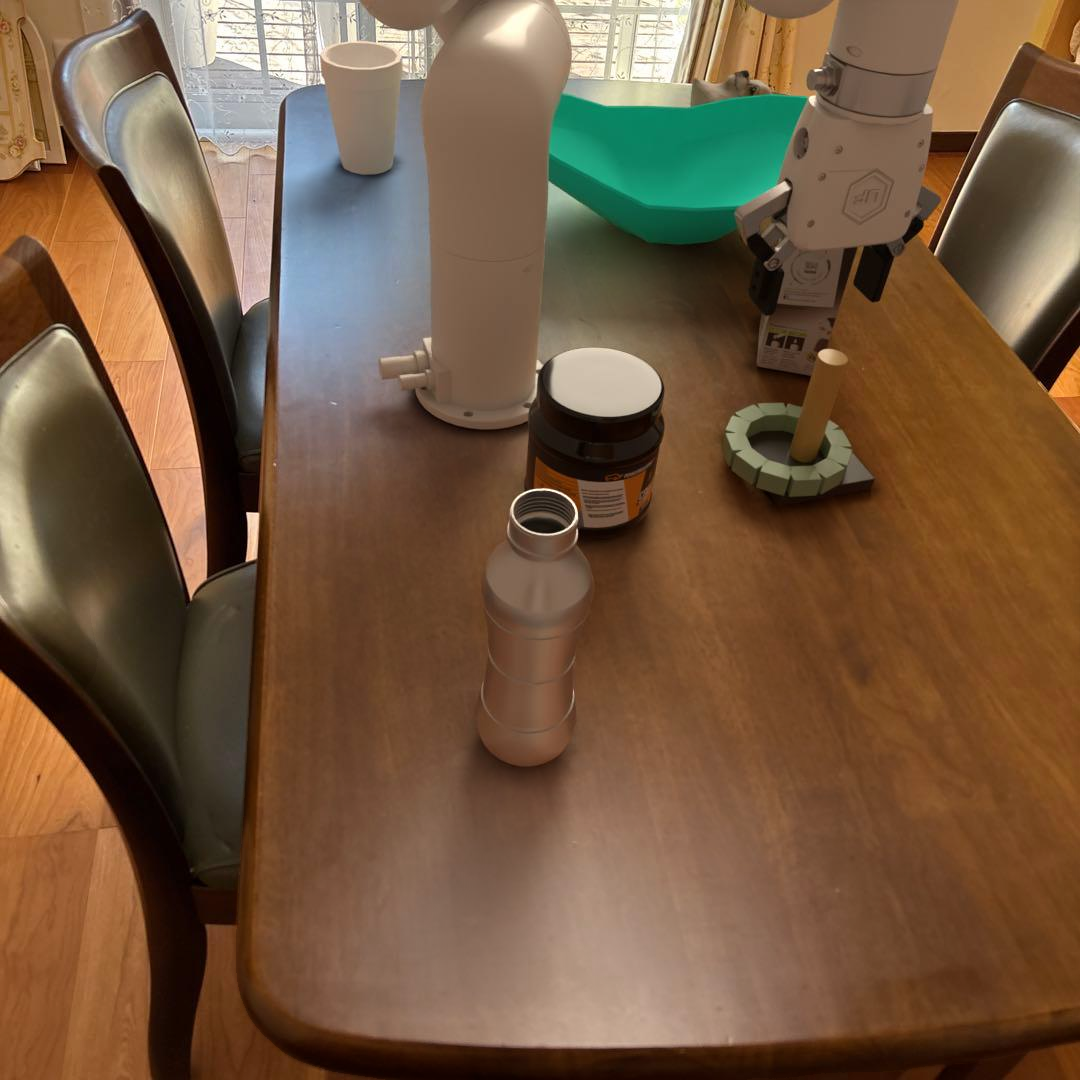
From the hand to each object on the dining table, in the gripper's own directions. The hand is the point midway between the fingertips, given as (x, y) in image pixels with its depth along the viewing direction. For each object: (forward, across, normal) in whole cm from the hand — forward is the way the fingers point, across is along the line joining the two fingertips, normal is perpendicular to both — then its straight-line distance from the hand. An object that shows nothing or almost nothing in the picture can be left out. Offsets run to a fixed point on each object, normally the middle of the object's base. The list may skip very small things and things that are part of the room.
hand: (814, 300), depth 83 cm
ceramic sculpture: (+14, +27, +64) cm, 70 cm away
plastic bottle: (+14, -32, -25) cm, 43 cm away
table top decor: (+14, +5, +40) cm, 42 cm away
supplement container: (+14, -20, -4) cm, 25 cm away
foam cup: (+14, -25, +63) cm, 69 cm away
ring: (+13, -2, -4) cm, 13 cm away
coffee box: (+14, +8, +13) cm, 20 cm away
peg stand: (+14, 0, -4) cm, 14 cm away
